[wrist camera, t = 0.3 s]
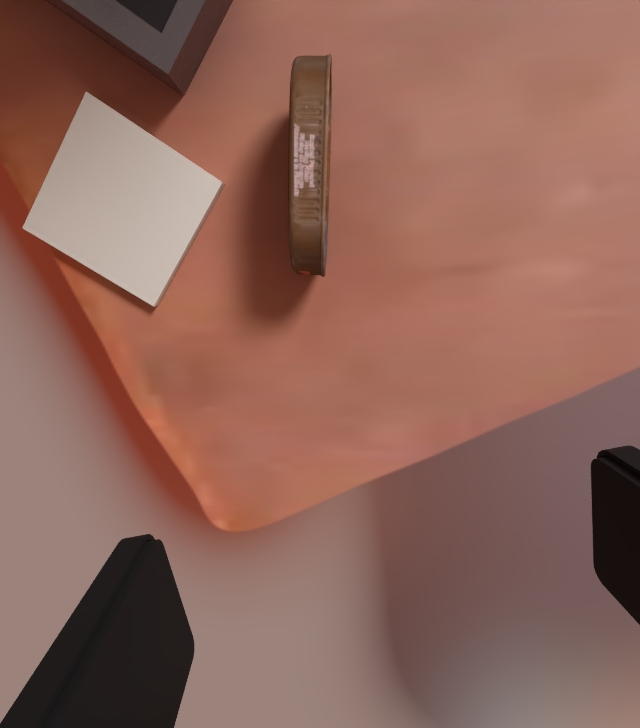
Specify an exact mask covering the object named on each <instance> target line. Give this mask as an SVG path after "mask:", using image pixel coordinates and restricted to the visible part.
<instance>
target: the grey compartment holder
mask: <svg viewBox="0 0 640 728" xmlns="http://www.w3.org/2000/svg"><path fill="white" fill-rule="evenodd" d="M47 1H48V2H50V3H51V4H52V5H54V6H55V7H57V8H58V9H60V10H61V11H63V12H64V13H65V14H67V15H68V16H70V17H71V18H73V19H74V20H76V21H77V22H78V23H80V24H81V25H83V26H84V27H86V28H87V29H89V30H90V31H91V32H93V33H94V34H96V35H97V36H99V37H100V38H102V39H103V40H104V41H106V42H107V43H109V44H110V45H112V46H113V47H115V48H116V49H117V50H119V51H120V52H122V53H123V54H125V55H126V56H128V57H129V58H130V59H132V60H133V61H135V62H136V63H138V64H139V65H140V66H142V67H143V68H145V69H146V70H148V71H149V72H151V73H152V74H153V75H155V76H156V77H158V78H159V79H161V80H162V81H164V82H165V83H166V84H168V85H169V86H171V87H172V88H174V89H175V90H177V91H178V92H179V93H181V94H182V95H185V93H186V91H187V89H188V87H189V85H190V83H191V81H192V79H193V77H194V75H195V73H196V71H197V69H198V67H199V65H200V63H201V61H202V59H203V57H204V55H205V54H206V52H207V50H208V48H209V46H210V44H211V42H212V40H213V38H214V36H215V34H216V32H217V30H218V28H219V26H220V24H221V22H222V20H223V18H224V16H225V14H226V13H227V11H228V9H229V7H230V5H231V3H232V1H233V0H47Z"/></svg>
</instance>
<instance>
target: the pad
mask: <svg viewBox="0 0 640 728" xmlns="http://www.w3.org/2000/svg"><path fill="white" fill-rule="evenodd" d="M224 185H225V184H224V183H223V182H221V181H220V180H218V179H217V178H215V177H214V176H212V175H211V174H209V173H208V172H206V171H205V170H203V169H202V168H200V167H199V166H197V165H196V164H194V163H193V162H191V161H190V160H188V159H187V158H185V157H184V156H182V155H181V154H179V153H178V152H176V151H175V150H173V149H172V148H170V147H169V146H167V145H166V144H164V143H163V142H161V141H160V140H158V139H157V138H155V137H154V136H152V135H151V134H149V133H148V132H146V131H145V130H143V129H142V128H140V127H139V126H137V125H136V124H134V123H133V122H131V121H130V120H128V119H127V118H125V117H124V116H122V115H121V114H119V113H118V112H116V111H115V110H113V109H112V108H110V107H109V106H107V105H106V104H104V103H103V102H101V101H100V100H98V99H97V98H95V97H94V96H92V95H91V94H89V93H88V92H86V93H85V95H84V97H83V99H82V101H81V103H80V105H79V108H78V110H77V112H76V114H75V116H74V118H73V120H72V123H71V125H70V127H69V129H68V131H67V133H66V135H65V138H64V140H63V142H62V144H61V146H60V148H59V150H58V153H57V155H56V157H55V159H54V161H53V163H52V166H51V168H50V170H49V172H48V174H47V176H46V178H45V181H44V183H43V185H42V187H41V189H40V191H39V193H38V196H37V198H36V200H35V202H34V204H33V206H32V208H31V211H30V213H29V215H28V217H27V219H26V221H25V224H24V226H23V229H25V230H26V231H28V232H30V233H31V234H33V235H35V236H36V237H38V238H40V239H41V240H43V241H45V242H46V243H48V244H50V245H51V246H53V247H55V248H56V249H58V250H60V251H61V252H63V253H65V254H66V255H68V256H70V257H71V258H73V259H75V260H76V261H78V262H80V263H81V264H83V265H85V266H86V267H88V268H90V269H92V270H93V271H95V272H97V273H98V274H100V275H102V276H103V277H105V278H107V279H108V280H110V281H112V282H113V283H115V284H117V285H118V286H120V287H122V288H123V289H125V290H127V291H128V292H130V293H132V294H133V295H135V296H137V297H138V298H140V299H142V300H143V301H145V302H147V303H149V304H150V305H152V306H158V304H159V302H160V300H161V299H162V297H163V295H164V293H165V291H166V290H167V288H168V286H169V284H170V282H171V281H172V279H173V277H174V275H175V273H176V272H177V270H178V268H179V266H180V264H181V263H182V261H183V259H184V257H185V255H186V254H187V252H188V250H189V248H190V246H191V245H192V243H193V241H194V239H195V237H196V236H197V234H198V232H199V230H200V228H201V226H202V225H203V223H204V221H205V219H206V217H207V216H208V214H209V212H210V210H211V208H212V207H213V205H214V203H215V201H216V199H217V198H218V196H219V194H220V192H221V190H222V189H223V187H224Z"/></svg>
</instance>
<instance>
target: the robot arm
mask: <svg viewBox="0 0 640 728" xmlns="http://www.w3.org/2000/svg"><path fill="white" fill-rule="evenodd" d="M591 485H592V486H591V487H592V523H593V559H594V568H595V572H596V574H597V576H598V578H599V580H600V581H601V583H602V584H603V585H604V586H605V587H606V588H607V589H608V591H609V592H610V593H611V594H612V595H613V596H614V597H615V598H616V599H617V600H618V602H619V603H620V604H621V605H622V606H623V607H624V608H625V609H626V610H627V611H628V613H629V614H630V615H631V616H632V617H633V618H634V619H635V620H636V621H637V622H638V623H639V624H640V450H639V449H637V448H635V447H633V446H623V447H618V448H612V449H607V450H602V451H600V452H599V453H598V455H597V459H594V460H593V461H592V463H591ZM193 656H194V639H193V635H192V632H191V629H190V626H189V623H188V620H187V616H186V613H185V610H184V607H183V604H182V601H181V598H180V595H179V592H178V588H177V585H176V582H175V579H174V576H173V573H172V570H171V567H170V564H169V560H168V557H167V554H166V551H165V548H164V545H163V543H162V541H161V540H159V539H158V540H155V539H154V538H153V536H152V535H150V534H147V535H141V536H135V537H131V538H125V539H122V540H121V541H120V542H119V543H118V545H117V546H116V548H115V549H114V551H113V552H112V554H111V555H110V557H109V558H108V560H107V561H106V563H105V565H104V566H103V567H102V569H101V571H100V572H99V574H98V575H97V577H96V578H95V580H94V581H93V583H92V584H91V586H90V588H89V589H88V590H87V592H86V594H85V595H84V597H83V598H82V600H81V601H80V603H79V604H78V606H77V607H76V609H75V610H74V612H73V613H72V615H71V616H70V618H69V619H68V621H67V623H66V624H65V626H64V627H63V629H62V630H61V632H60V633H59V635H58V637H57V638H56V639H55V641H54V642H53V644H52V645H51V647H50V648H49V650H48V652H47V653H46V655H45V656H44V658H43V659H42V661H41V662H40V664H39V665H38V667H37V668H36V670H35V671H34V673H33V675H32V676H31V678H30V679H29V681H28V682H27V684H26V685H25V687H24V688H23V690H22V691H21V693H20V694H19V696H18V698H17V699H16V701H15V702H14V704H13V705H12V707H11V708H10V710H9V711H8V713H7V714H6V716H5V717H4V719H3V720H2V722H1V723H0V728H174V725H175V721H176V718H177V714H178V711H179V707H180V703H181V700H182V696H183V693H184V689H185V685H186V682H187V678H188V675H189V671H190V668H191V664H192V661H193Z"/></svg>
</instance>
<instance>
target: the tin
mask: <svg viewBox="0 0 640 728" xmlns="http://www.w3.org/2000/svg"><path fill="white" fill-rule="evenodd" d="M331 59H332V58H331V54H329V55H327V56H298V57H296V58H295V59H294V62H293V65H292V71H291V82H290V108H289V178H288V186H289V191H288V200H289V248H290V258H291V264H292V267H293V269H294V271H295V272H296V273H297V274H302V275H321V276H323V277H324V276H325V268H326V258H327V232H328V204H329V175H330V144H331V98H332V97H331V91H332V88H331V63H332V62H331Z"/></svg>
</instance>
